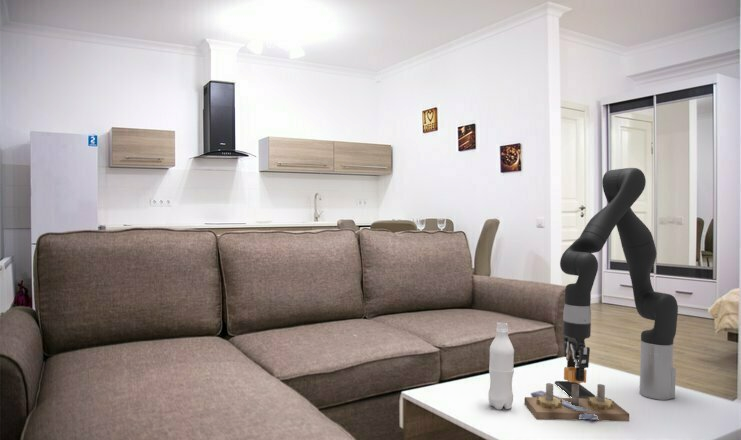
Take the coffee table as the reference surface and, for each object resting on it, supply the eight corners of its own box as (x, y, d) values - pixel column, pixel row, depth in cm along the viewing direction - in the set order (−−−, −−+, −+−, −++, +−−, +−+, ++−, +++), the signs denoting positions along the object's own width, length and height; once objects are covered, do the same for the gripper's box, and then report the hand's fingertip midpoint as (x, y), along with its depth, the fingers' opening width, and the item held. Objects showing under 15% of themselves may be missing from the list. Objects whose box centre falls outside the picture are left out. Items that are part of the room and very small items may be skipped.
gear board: (610, 405, 161) (610, 379, 160) (629, 421, 149) (630, 392, 148) (524, 403, 161) (525, 377, 161) (536, 419, 149) (537, 390, 149)
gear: (581, 376, 158) (581, 366, 157) (589, 383, 151) (590, 373, 151) (560, 376, 158) (560, 366, 158) (568, 382, 151) (568, 372, 151)
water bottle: (496, 400, 163) (498, 319, 162) (517, 407, 158) (519, 323, 157) (483, 406, 158) (485, 323, 157) (504, 413, 153) (506, 327, 152)
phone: (571, 396, 166) (553, 380, 181) (571, 399, 166) (553, 384, 181) (596, 396, 166) (576, 381, 181) (596, 400, 166) (576, 384, 181)
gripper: (600, 325, 147) (598, 385, 147) (580, 315, 161) (578, 370, 162) (573, 324, 147) (571, 384, 147) (555, 314, 161) (554, 369, 162)
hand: (575, 376), depth 154 cm, fingers closed on gear, 6 cm apart
